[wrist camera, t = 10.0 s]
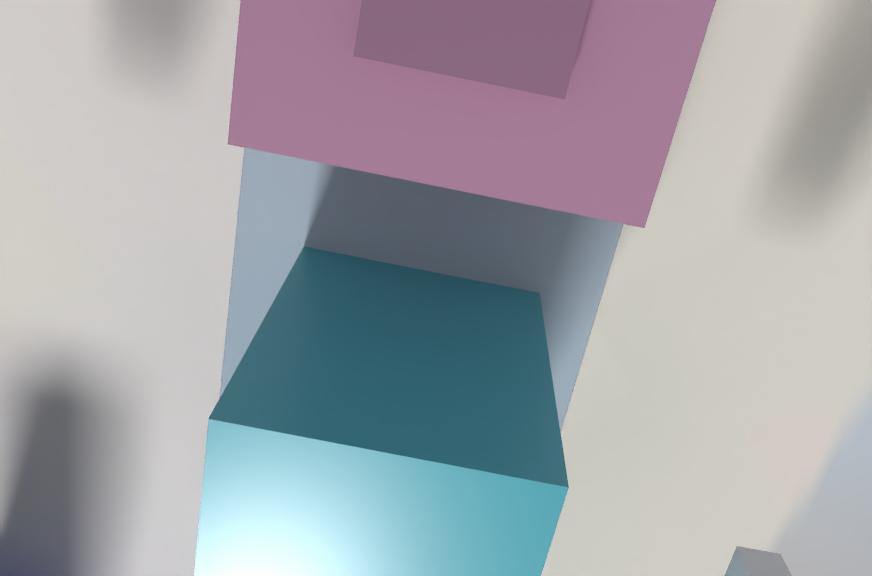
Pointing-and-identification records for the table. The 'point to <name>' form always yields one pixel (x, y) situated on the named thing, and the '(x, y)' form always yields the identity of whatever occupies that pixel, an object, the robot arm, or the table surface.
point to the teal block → (385, 431)
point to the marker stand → (455, 144)
